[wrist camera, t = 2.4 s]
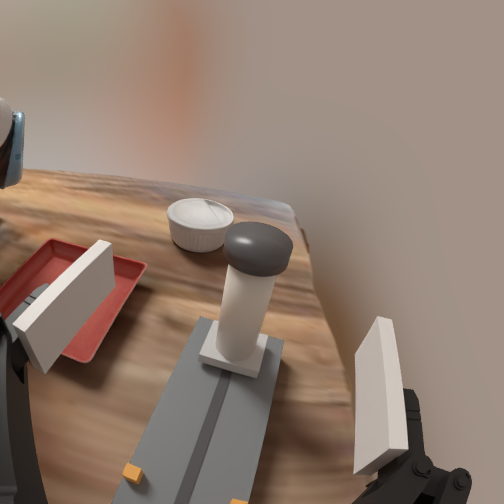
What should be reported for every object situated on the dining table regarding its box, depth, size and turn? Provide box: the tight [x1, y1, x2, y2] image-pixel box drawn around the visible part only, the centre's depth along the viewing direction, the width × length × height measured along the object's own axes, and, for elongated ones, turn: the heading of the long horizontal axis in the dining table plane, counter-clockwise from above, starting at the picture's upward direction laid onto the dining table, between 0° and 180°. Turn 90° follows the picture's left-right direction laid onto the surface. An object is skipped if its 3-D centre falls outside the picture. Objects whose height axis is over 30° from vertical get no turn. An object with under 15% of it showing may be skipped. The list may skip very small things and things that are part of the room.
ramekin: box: [167, 198, 234, 253], centre depth 53 cm, size 11×11×5 cm
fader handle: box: [198, 222, 293, 378], centre depth 28 cm, size 5×6×14 cm
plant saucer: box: [0, 238, 147, 364], centre depth 35 cm, size 18×18×3 cm
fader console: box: [111, 316, 284, 504], centre depth 25 cm, size 26×10×4 cm, turn 168°
